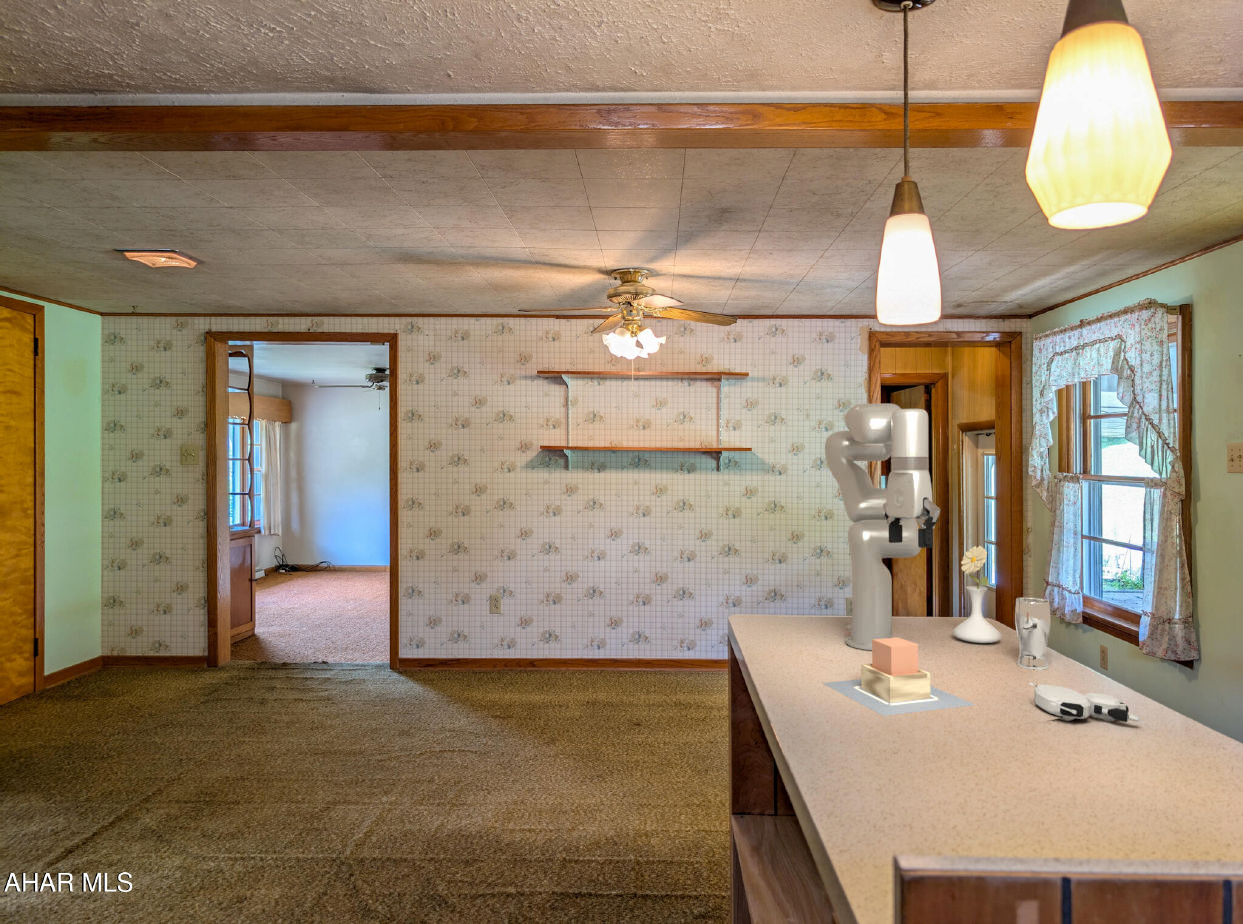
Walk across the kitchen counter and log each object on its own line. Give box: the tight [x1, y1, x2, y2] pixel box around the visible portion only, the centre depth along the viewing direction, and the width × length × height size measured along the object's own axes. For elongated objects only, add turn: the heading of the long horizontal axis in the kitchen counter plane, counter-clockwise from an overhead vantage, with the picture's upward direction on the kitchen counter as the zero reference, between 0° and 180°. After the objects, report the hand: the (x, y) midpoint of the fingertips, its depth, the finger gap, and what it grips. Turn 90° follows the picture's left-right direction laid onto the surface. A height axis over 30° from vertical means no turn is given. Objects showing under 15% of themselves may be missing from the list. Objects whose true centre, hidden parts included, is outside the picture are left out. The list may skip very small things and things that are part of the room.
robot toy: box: [1028, 682, 1140, 723], centre depth 131 cm, size 12×4×15 cm
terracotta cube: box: [871, 637, 919, 676], centre depth 142 cm, size 6×6×6 cm
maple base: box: [860, 663, 931, 703], centre depth 141 cm, size 9×9×5 cm
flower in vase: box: [952, 545, 1003, 644], centre depth 186 cm, size 13×11×25 cm
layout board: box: [822, 678, 976, 717], centre depth 141 cm, size 20×20×1 cm
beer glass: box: [1014, 596, 1052, 671], centre depth 163 cm, size 7×7×15 cm
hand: (910, 544), depth 157 cm, fingers open, 9 cm apart
